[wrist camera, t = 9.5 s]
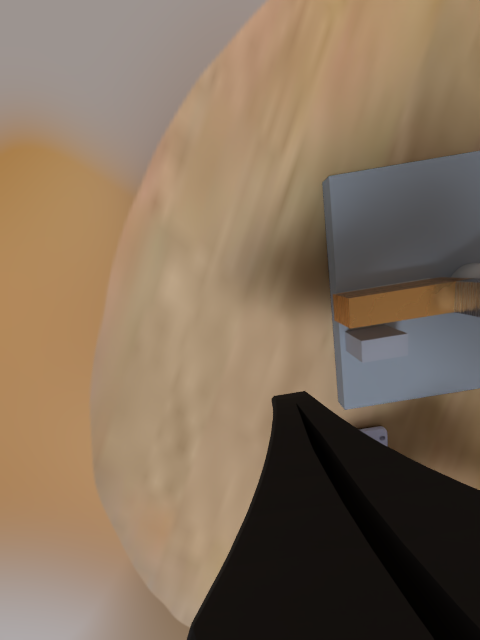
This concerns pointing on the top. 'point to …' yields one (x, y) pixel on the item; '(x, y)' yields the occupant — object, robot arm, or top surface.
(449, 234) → the base
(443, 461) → the top surface
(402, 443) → the top surface
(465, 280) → the lever handle
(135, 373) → the top surface
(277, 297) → the top surface
